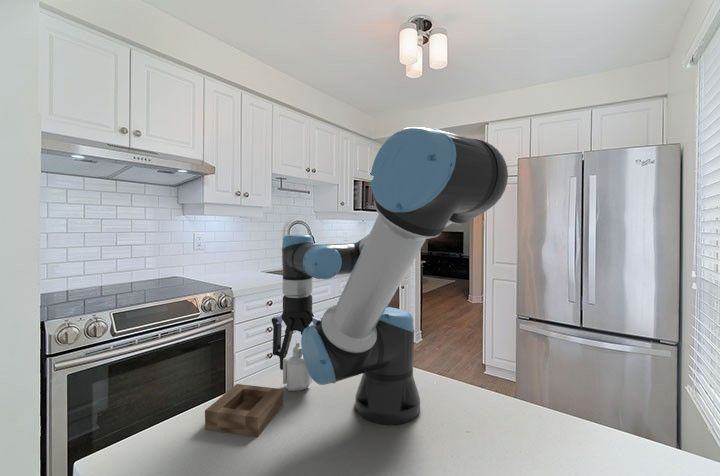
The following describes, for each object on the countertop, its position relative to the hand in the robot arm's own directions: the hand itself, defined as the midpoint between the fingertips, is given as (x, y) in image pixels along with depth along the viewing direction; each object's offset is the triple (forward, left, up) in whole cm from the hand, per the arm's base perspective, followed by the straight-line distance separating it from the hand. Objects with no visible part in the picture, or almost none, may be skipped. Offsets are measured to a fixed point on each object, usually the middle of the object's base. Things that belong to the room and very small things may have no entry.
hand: (297, 382), depth 90 cm
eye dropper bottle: (0, 0, -2) cm, 2 cm away
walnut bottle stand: (+6, +15, -1) cm, 16 cm away
